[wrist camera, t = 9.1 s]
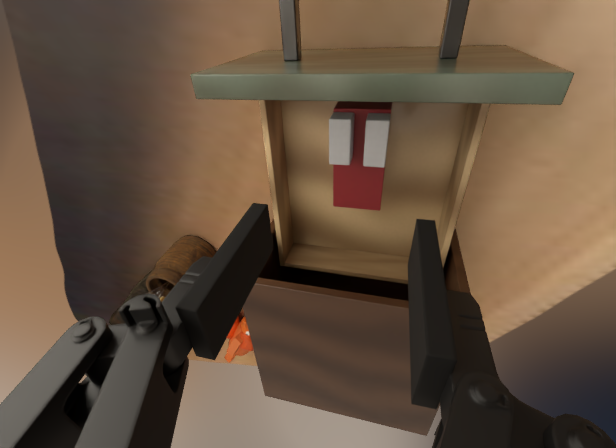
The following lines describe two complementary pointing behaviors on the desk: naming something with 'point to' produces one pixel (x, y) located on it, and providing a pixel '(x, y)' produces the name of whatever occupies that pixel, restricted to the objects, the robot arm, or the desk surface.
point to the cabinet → (339, 340)
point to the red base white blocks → (359, 152)
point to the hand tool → (136, 291)
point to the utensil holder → (176, 264)
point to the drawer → (401, 141)
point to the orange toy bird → (239, 340)
